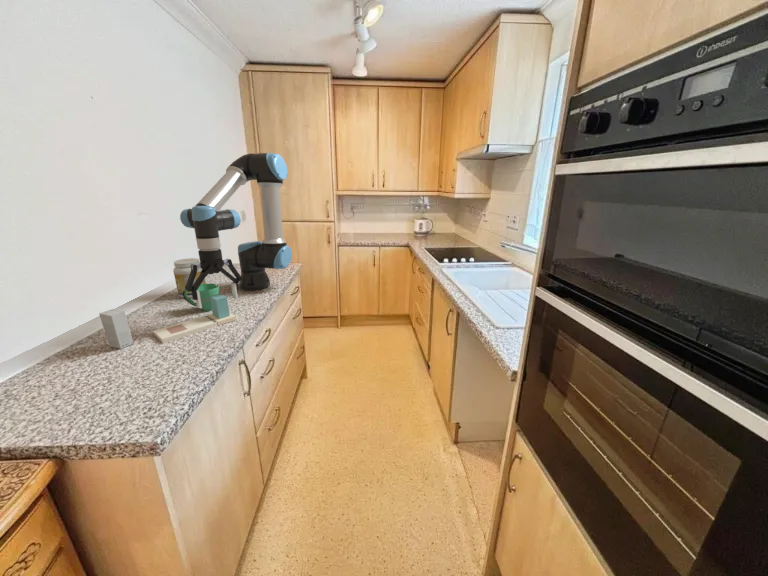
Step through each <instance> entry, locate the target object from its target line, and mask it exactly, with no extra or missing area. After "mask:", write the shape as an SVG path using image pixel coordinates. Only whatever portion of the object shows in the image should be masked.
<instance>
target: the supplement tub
mask: <svg viewBox="0 0 768 576" xmlns="http://www.w3.org/2000/svg"><path fill="white" fill-rule="evenodd" d="M191 264H194V265H197V264H200V259H199V258H195V257H193V258H192V257H189V258H182V259H177V260H174V262H173V266H174V268H173V269H172V271H173V275H174V280H175V285H176V289H177V293H178V296H179V297H181V298H182V299H184V297H183V294H182V292H183V290H184V289H185V286H186V283H187V281H188V278H189V275H190V272H191ZM201 271H202V269H201V268H199V270H197V274H196V277H195V280H194V283H195V281H196V280H197V278H198V277H199V275H200V272H201ZM194 283H193V284H194ZM202 284H207V283H206V278H205V279H204V280H203V282H202V283H201V285H202ZM186 294H187V296H188V297H189V298H190V299H193V297H192V292H186Z"/></svg>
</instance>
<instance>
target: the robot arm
mask: <svg viewBox="0 0 768 576" xmlns="http://www.w3.org/2000/svg"><path fill="white" fill-rule="evenodd" d="M287 177H288V167H287V163H286V161H285V160H284V158H283V156H282V155H280V154H278V153H274V152H266V153H265V152H263V153H262V152H261V153H259V152H257V153H247V154H243V155H241V156H240V157H238V158H237V159H235V160H234V161H232V162H231V164H229V166H227V167H226V169H225V173H224V174H223V175H222V177H220V179H219V180H218V181H217V182H216V183H215V184H214V185H213V186H212V187H211V188H210V189H209V190H208V191H207V192H206V194H205V195H204V196H203V197H202V198H201V199H200V200H199V201H198V202H197V204H195V205H194V206H192V208H185V209H183V210H182V211H181V212H180V215H179V216H180V217H179V220H180V222H181V223H182V225H183V226H184V227H186V228H190V229H194V234H195V240H196V245H197V249H198V257H199V258H198V259H199V261H200V264H197V265H194V264H191V272H190V275H189V278H188V281H187V283H186V286H185V290H187V291H191V292H192V297H193V298H192V299H193V301H195V303H197V308H199V309H202V304H201V299H200V293H199V291H197V289H198V288H199V286H200V285H201V283H202V282H203V280H204V279H205V280H206V277H207V276H208V275H214V274H219V273H222V274H223V275H224V276H225V277H227V278H228V279H229V280H230V281H232V282H230V286H231V292H232V298H233V299H235V300H238V299H239V296H238V291H239V290H240V289H241V290H242V291H257V290H263V289H267V288H268V287H270V286H271V280H270V277H269V275H268V274H267V272H266V269H275V270H285V269H287V268H288V267H289V265H290V263H291V261H292V259H293V258H292V257H293V252H292V248H291V247H290V246H289V245H287V241H286V239H284V235H283V234H284V232H283V231H284V230H283V217H282V200H281V188H282V186H283V185H284V180H286V179H287ZM250 181H256V185H258V186H259V187H260V193H261V207H262V209H261V210H262V220H263V232H264V233H263V236H264V238H263V239H262V240H257V241H256V240H254V241H248V242H244V243H240V244H238V245H237V255H238V261H239V266H240V273H239V271H238V270H237V269H236V268H235V266H234V264H233V262H232V259H230V258H226V259H224V260H223V254H222V253H223V251H222V249H221V241H220V234H219V232H220V231H226V230H233V229H236V228H238V227H239V226H240V225H241V222H242V220H241V219H242V218H241V215H240V214H239V213H238V212H237V211H236V210H235V209H230V208H229V209H228V208H226V209H222V207H224V206H225V204H226V203H227V202H228V201H229V200H230V198H231V197H232V196H234V194H235V193H236V192H237V190H238V189H239V188H240V187H241V186H244V185H246V184H247V182H250ZM224 265H226V266H227V267H228V269H229V270H230V271H231V273H232V274H233V275H234V276H233V275H232V274H231V273H230V272H228V271H227V270H226V269H225V268H223V267H224ZM199 268H201V269H202V271H201V272H200V275H199V277H198V278H197V280H196V281H195V283H194V280H195V277H196V274H197V270H199ZM193 283H194V284H193Z"/></svg>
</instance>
